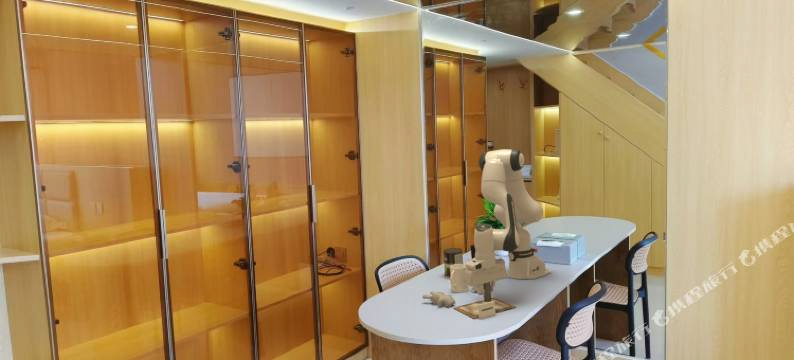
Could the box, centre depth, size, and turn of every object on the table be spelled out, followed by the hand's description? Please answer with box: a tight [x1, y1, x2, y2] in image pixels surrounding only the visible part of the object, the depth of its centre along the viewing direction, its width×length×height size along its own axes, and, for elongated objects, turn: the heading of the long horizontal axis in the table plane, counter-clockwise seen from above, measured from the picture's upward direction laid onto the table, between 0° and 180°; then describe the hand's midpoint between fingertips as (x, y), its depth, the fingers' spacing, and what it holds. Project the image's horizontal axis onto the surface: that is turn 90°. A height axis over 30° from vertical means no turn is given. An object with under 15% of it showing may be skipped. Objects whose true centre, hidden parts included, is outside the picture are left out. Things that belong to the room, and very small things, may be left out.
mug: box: [449, 263, 469, 294], centre depth 264 cm, size 12×8×12 cm
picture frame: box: [453, 297, 517, 320], centre depth 238 cm, size 22×16×1 cm
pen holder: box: [469, 244, 476, 260], centre depth 314 cm, size 9×9×10 cm
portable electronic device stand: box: [471, 285, 493, 295], centre depth 261 cm, size 9×8×8 cm
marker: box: [483, 282, 492, 302], centre depth 242 cm, size 3×3×12 cm
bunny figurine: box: [422, 290, 456, 308], centre depth 248 cm, size 10×5×15 cm
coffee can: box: [442, 247, 464, 280], centre depth 289 cm, size 10×10×14 cm
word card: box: [478, 301, 496, 320], centre depth 228 cm, size 8×1×6 cm, turn 116°
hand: (487, 291), depth 242 cm, fingers closed on marker, 3 cm apart
